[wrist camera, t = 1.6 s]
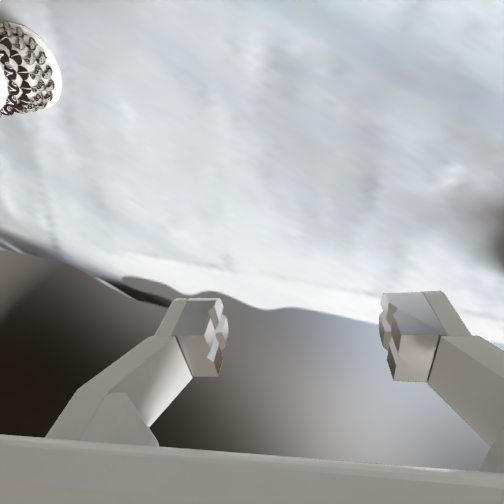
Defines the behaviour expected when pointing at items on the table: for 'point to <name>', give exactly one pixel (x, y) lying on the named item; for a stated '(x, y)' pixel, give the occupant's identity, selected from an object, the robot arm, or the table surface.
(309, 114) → the table surface
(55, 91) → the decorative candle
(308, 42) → the table surface
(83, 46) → the table surface
